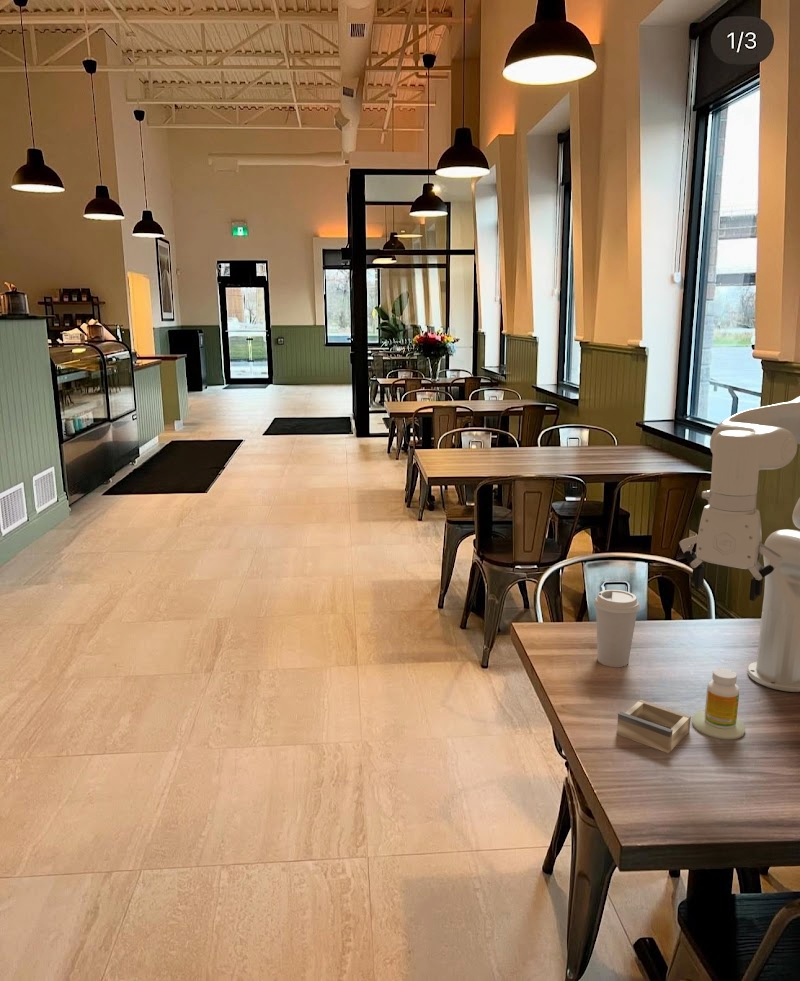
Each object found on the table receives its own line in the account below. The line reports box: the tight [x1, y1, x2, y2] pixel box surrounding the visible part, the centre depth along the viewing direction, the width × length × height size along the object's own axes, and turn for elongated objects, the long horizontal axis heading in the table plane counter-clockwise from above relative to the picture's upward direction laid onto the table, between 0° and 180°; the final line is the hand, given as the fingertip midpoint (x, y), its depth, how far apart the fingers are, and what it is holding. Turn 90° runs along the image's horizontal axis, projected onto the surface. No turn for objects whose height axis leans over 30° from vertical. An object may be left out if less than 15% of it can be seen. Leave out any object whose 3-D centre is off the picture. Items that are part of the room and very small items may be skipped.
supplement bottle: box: [704, 668, 740, 729], centre depth 139 cm, size 5×5×10 cm
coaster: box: [691, 709, 746, 740], centre depth 140 cm, size 9×9×1 cm
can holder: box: [616, 699, 692, 754], centre depth 137 cm, size 10×10×4 cm
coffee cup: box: [593, 589, 641, 668], centre depth 165 cm, size 10×10×15 cm
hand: (725, 592), depth 138 cm, fingers open, 9 cm apart
